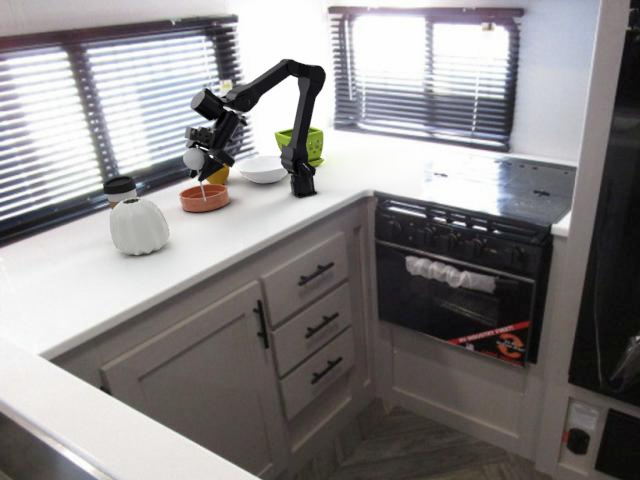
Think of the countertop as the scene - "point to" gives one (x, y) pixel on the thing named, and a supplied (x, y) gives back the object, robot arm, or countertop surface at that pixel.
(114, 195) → the coffee cup
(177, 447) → the countertop surface
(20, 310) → the countertop surface
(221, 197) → the terracotta plant saucer
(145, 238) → the vase
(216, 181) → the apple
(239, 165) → the bowl
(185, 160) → the lollipop
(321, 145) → the flower pot
